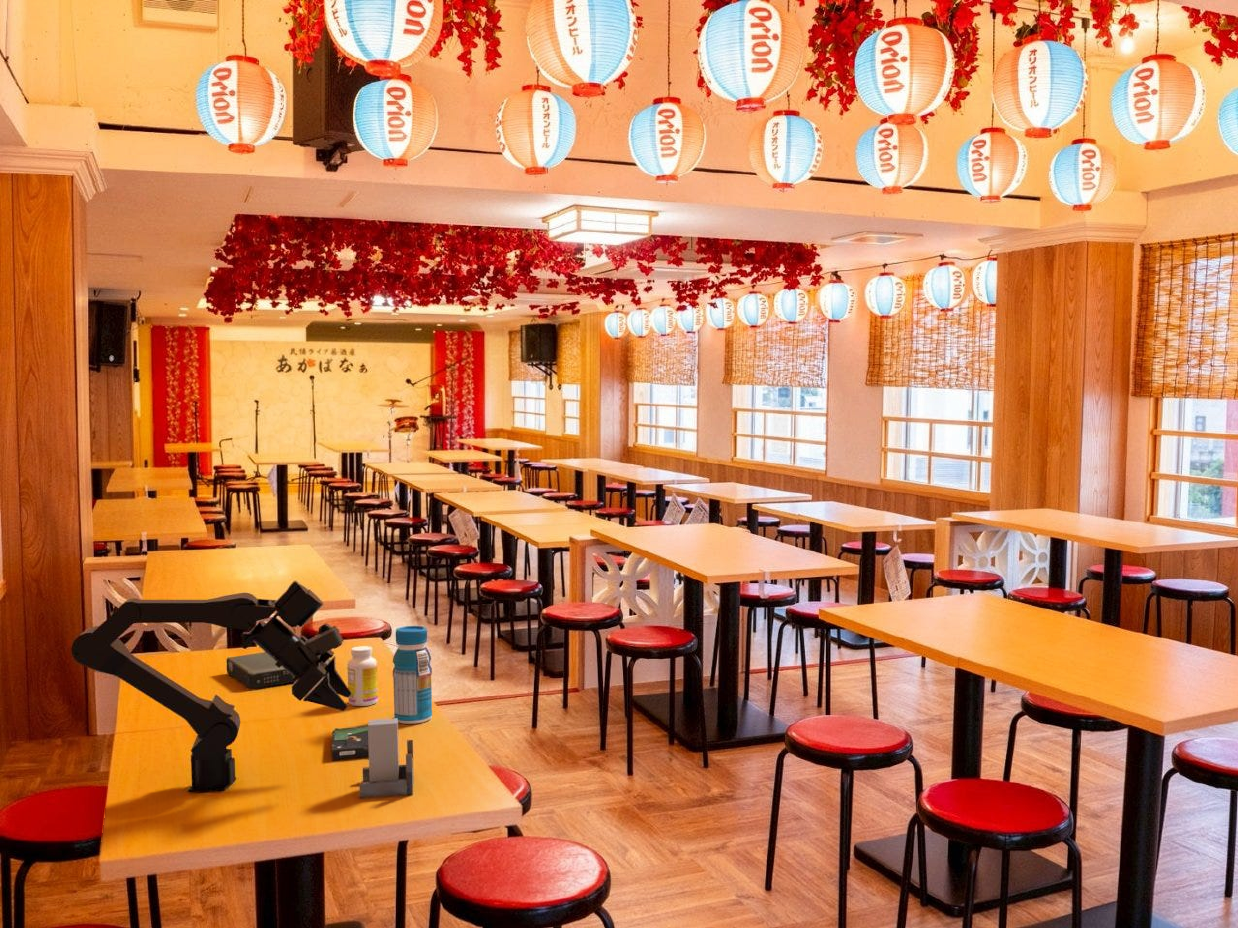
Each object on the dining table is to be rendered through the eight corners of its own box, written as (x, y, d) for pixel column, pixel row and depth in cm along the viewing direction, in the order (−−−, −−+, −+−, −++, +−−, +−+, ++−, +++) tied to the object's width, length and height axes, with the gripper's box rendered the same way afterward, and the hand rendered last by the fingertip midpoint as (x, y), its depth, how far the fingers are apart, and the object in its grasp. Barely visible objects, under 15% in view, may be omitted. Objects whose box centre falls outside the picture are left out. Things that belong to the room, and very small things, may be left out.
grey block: (369, 794, 186) (367, 726, 185) (371, 784, 191) (369, 718, 190) (398, 791, 187) (396, 724, 186) (399, 782, 192) (397, 716, 191)
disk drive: (387, 759, 207) (383, 735, 221) (386, 744, 207) (382, 722, 221) (332, 764, 204) (331, 740, 218) (331, 749, 204) (331, 727, 218)
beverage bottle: (393, 726, 226) (391, 633, 225) (393, 715, 234) (391, 625, 233) (433, 723, 228) (431, 631, 227) (432, 712, 236) (430, 623, 235)
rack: (359, 798, 184) (358, 758, 183) (363, 780, 192) (362, 742, 192) (413, 794, 185) (412, 755, 185) (414, 777, 194) (413, 739, 194)
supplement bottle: (382, 699, 248) (380, 645, 247) (372, 707, 241) (371, 651, 240) (354, 699, 248) (352, 644, 248) (344, 706, 242) (342, 651, 241)
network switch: (301, 662, 288) (301, 643, 288) (343, 677, 271) (343, 657, 271) (216, 677, 273) (216, 658, 272) (255, 694, 255) (254, 674, 255)
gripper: (309, 623, 184) (375, 682, 187) (320, 604, 203) (381, 658, 205) (263, 670, 183) (331, 729, 186) (279, 647, 202) (340, 700, 204)
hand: (347, 701), depth 195 cm, fingers open, 9 cm apart
